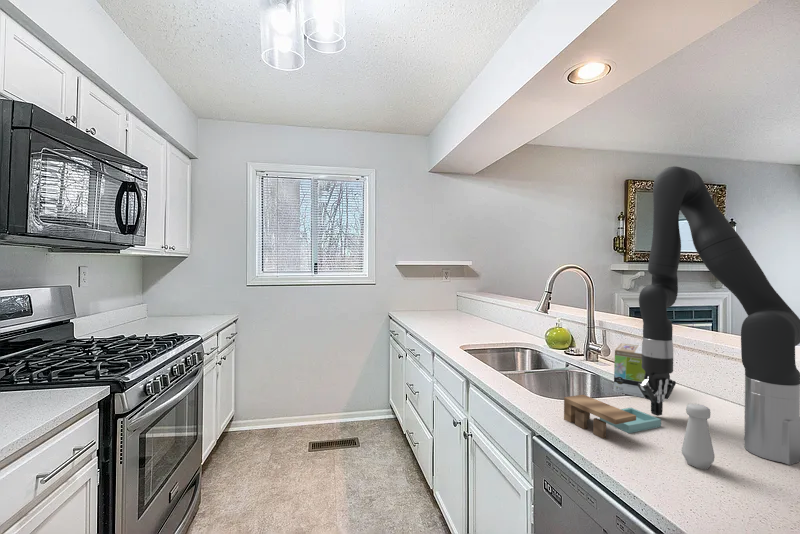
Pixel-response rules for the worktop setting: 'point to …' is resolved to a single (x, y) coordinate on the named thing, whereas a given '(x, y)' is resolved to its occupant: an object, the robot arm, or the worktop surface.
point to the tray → (637, 422)
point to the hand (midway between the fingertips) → (656, 414)
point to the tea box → (628, 369)
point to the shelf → (583, 405)
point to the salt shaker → (698, 437)
